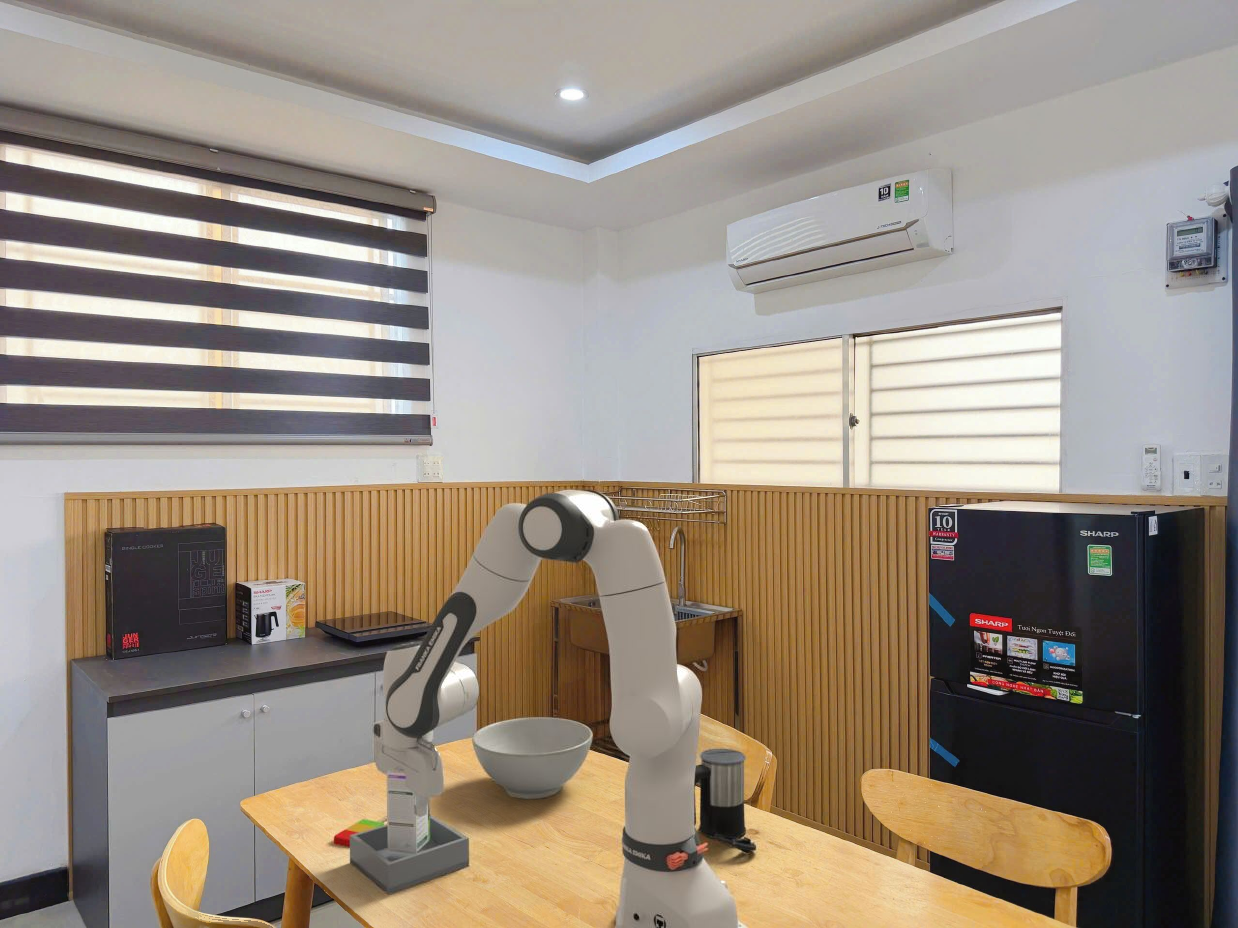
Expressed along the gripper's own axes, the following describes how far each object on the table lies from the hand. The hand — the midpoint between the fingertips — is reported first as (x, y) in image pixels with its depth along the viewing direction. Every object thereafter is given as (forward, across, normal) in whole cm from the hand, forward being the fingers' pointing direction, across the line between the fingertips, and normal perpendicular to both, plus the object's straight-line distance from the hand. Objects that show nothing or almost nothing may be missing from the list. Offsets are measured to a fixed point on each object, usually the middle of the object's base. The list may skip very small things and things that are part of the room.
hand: (408, 807), depth 156 cm
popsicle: (+11, +19, -1) cm, 22 cm away
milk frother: (+10, -32, -51) cm, 61 cm away
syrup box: (+7, 0, 0) cm, 7 cm away
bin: (+10, 0, 0) cm, 10 cm away
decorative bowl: (+10, +15, -38) cm, 42 cm away
